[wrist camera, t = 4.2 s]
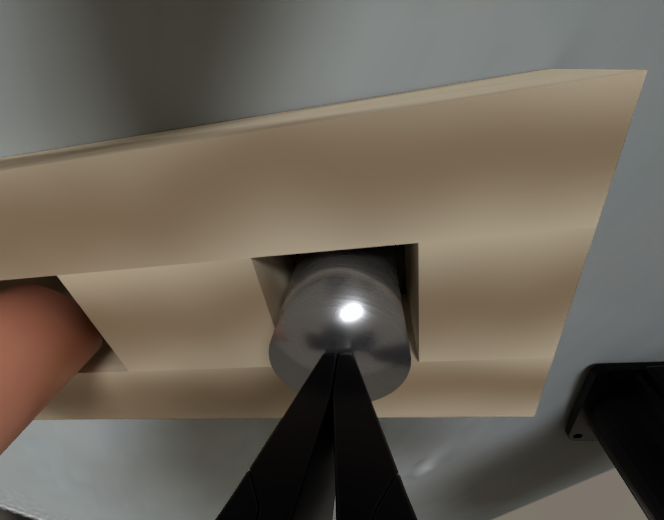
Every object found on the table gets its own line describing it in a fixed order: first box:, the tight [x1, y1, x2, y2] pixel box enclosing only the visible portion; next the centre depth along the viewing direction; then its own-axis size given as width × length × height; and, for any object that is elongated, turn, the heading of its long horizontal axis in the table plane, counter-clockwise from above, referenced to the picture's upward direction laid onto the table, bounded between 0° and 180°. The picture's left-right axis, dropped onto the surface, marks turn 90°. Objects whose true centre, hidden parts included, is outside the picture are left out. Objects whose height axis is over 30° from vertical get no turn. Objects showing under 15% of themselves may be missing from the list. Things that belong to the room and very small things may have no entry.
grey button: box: [268, 245, 411, 401], centre depth 11 cm, size 4×4×6 cm
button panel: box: [0, 69, 648, 420], centre depth 13 cm, size 12×26×4 cm, turn 99°
